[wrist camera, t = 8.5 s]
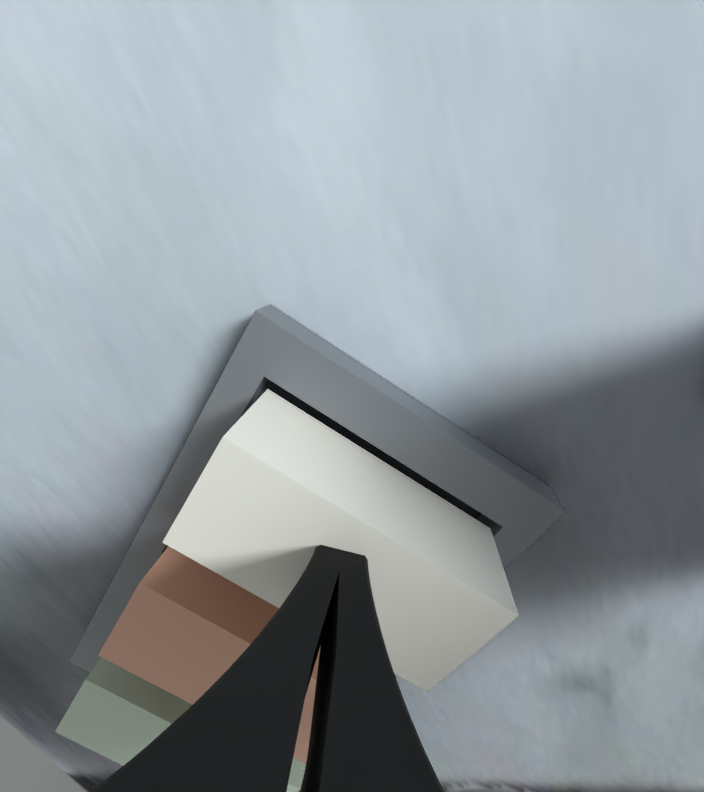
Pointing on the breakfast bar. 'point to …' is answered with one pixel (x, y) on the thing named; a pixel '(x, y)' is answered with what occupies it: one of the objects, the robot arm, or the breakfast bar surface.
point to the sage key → (128, 716)
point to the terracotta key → (192, 632)
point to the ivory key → (346, 535)
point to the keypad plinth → (353, 409)
